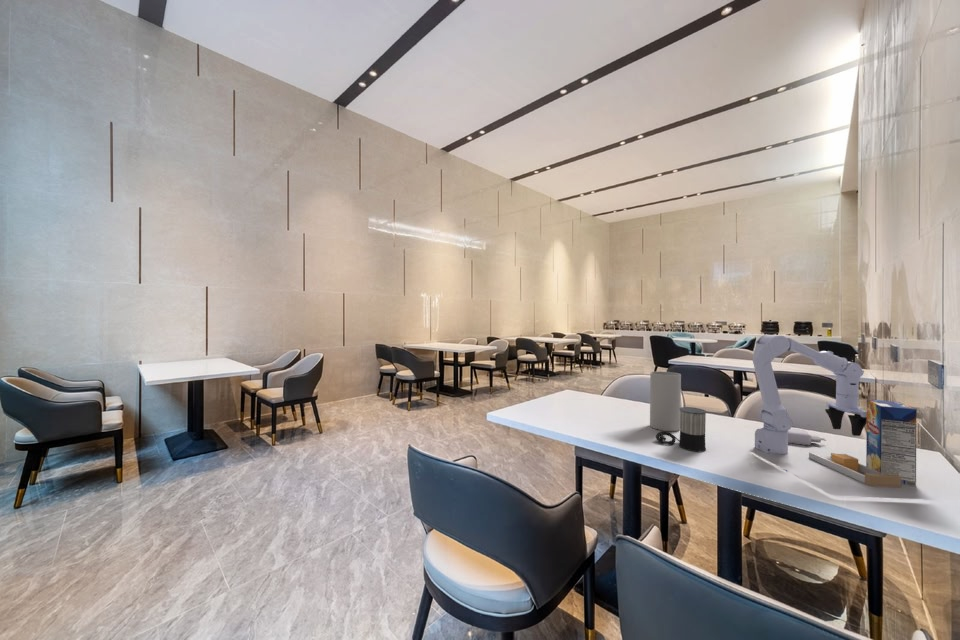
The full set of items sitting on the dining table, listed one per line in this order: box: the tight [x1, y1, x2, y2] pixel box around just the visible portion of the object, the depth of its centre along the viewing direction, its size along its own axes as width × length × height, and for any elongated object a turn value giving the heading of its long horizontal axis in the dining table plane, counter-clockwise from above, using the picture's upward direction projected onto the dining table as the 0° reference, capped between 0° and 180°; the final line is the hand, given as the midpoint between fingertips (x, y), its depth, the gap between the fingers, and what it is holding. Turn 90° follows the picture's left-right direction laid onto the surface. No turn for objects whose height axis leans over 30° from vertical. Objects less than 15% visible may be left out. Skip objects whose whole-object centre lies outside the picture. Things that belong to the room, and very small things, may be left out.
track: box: [808, 451, 901, 488], centre depth 119 cm, size 8×22×4 cm, turn 176°
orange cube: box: [830, 453, 859, 472], centre depth 121 cm, size 4×4×4 cm
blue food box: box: [865, 398, 918, 487], centre depth 115 cm, size 12×8×24 cm, turn 148°
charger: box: [788, 427, 827, 446], centre depth 150 cm, size 5×9×15 cm
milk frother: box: [655, 406, 707, 452], centre depth 145 cm, size 14×16×15 cm
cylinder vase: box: [649, 371, 682, 432], centre depth 169 cm, size 12×12×25 cm
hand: (846, 432), depth 133 cm, fingers open, 7 cm apart
